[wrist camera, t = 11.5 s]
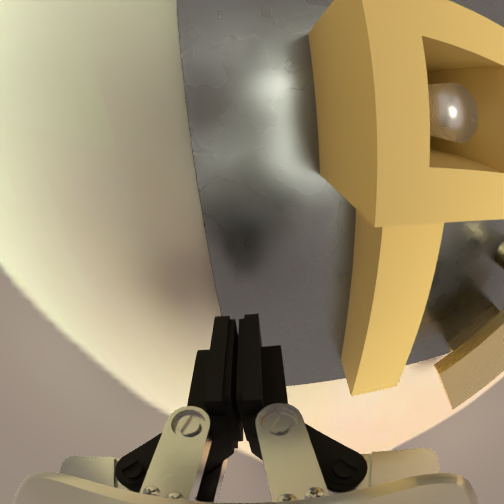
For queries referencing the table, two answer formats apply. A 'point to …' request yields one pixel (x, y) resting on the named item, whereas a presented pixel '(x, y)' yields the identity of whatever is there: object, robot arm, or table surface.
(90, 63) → the table surface
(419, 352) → the pintle board
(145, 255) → the table surface
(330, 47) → the link
